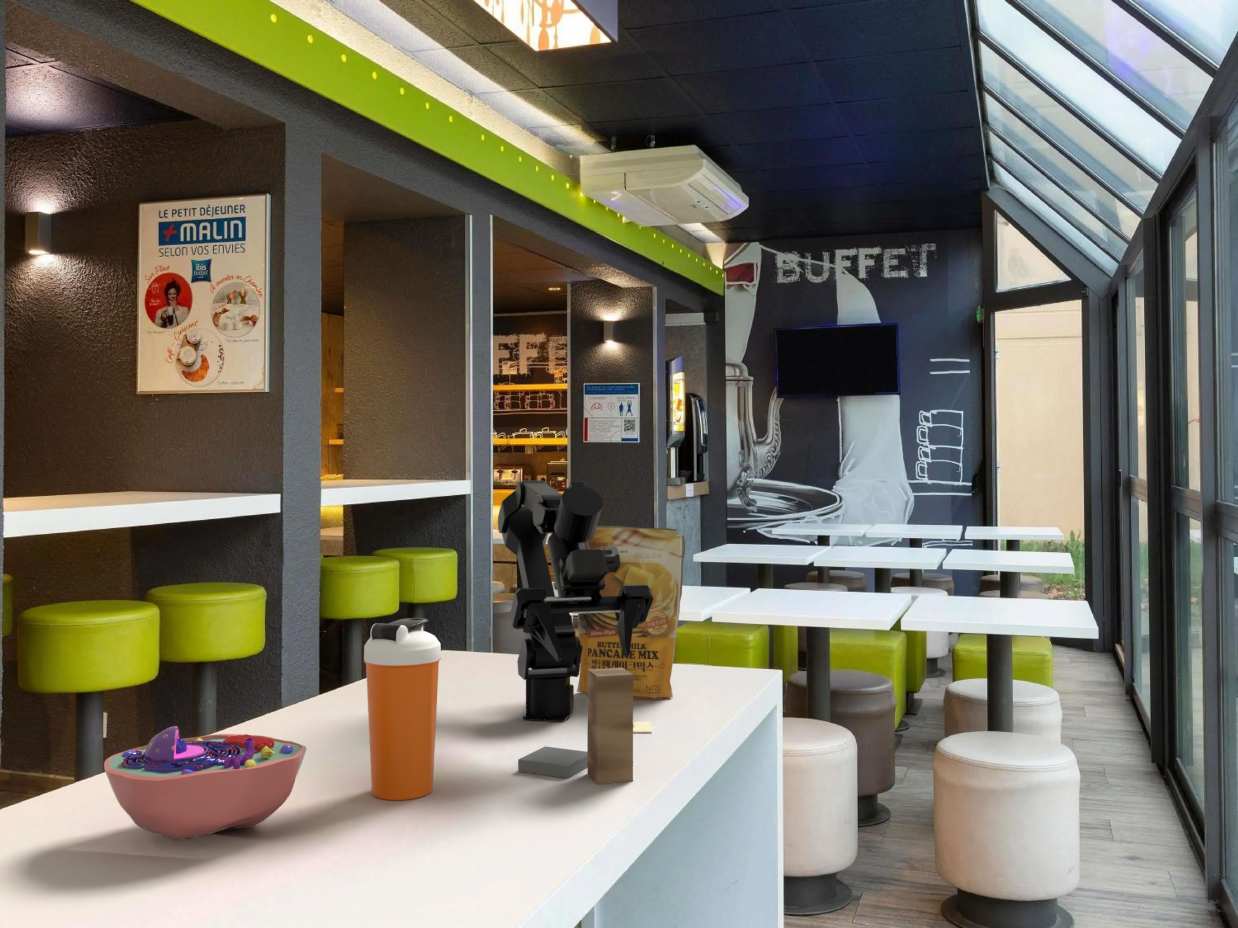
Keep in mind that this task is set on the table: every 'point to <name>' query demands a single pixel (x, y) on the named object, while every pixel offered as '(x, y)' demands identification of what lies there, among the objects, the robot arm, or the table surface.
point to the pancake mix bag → (653, 641)
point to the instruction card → (642, 727)
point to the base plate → (553, 762)
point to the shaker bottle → (402, 707)
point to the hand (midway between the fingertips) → (593, 657)
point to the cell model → (203, 781)
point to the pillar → (610, 725)
